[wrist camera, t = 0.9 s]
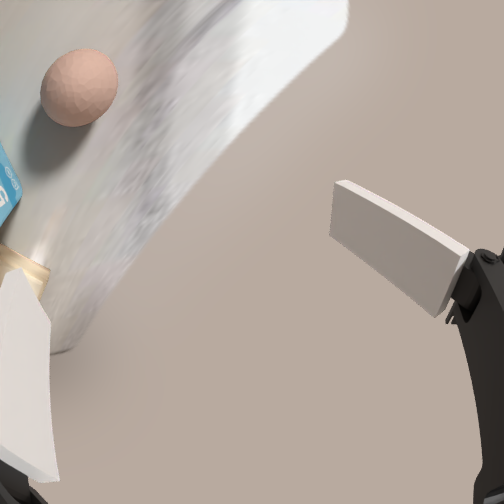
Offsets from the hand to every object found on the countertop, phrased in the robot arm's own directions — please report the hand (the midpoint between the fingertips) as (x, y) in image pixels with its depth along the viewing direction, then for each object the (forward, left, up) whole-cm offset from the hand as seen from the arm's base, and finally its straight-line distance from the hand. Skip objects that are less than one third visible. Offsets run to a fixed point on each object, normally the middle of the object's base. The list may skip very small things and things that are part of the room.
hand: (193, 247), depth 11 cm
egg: (-9, +2, -22) cm, 24 cm away
